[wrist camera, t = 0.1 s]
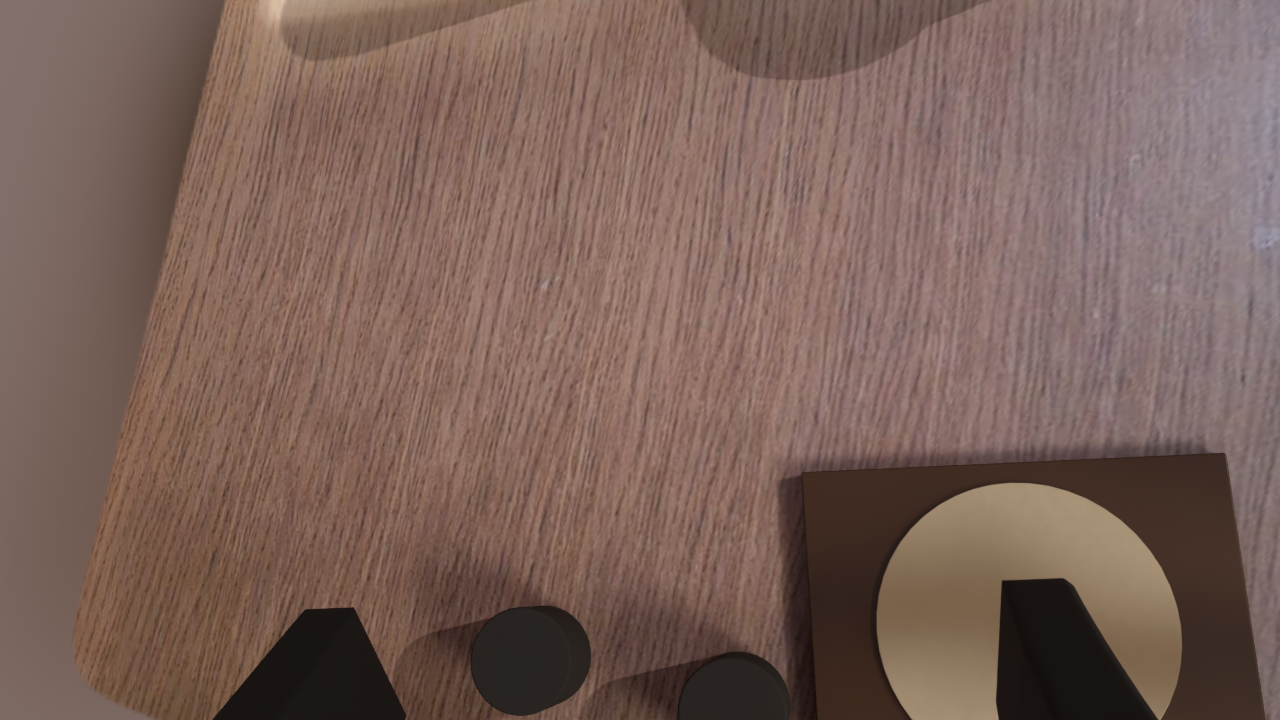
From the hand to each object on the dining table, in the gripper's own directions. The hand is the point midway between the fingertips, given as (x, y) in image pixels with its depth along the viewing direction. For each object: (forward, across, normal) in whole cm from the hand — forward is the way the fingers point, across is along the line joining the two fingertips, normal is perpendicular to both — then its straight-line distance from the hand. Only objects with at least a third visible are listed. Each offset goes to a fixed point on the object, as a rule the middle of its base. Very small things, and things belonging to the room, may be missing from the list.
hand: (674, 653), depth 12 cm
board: (+20, -9, +24) cm, 33 cm away
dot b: (+20, +10, +25) cm, 33 cm away
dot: (+18, +2, +26) cm, 32 cm away
